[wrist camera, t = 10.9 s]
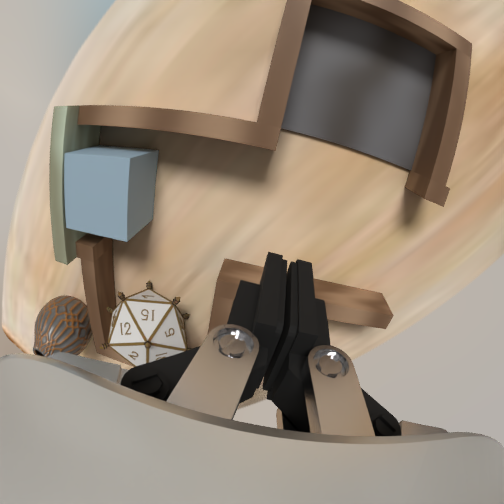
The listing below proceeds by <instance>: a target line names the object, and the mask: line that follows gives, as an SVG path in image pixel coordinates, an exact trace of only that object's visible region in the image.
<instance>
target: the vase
mask: <svg viewBox="0 0 504 504" xmlns="http://www.w3.org/2000/svg"><path fill="white" fill-rule="evenodd" d="M91 335H92V329H91V324H90V319H89V314H88V308H87V307H86V305H85V304H84V303H83V302H82V301H80V300H79V299H77V298H74V297H71V296H59V297H56V298H54V299H52V300H50V301H49V302H48V303H47V304H46V305H45V306H44V307H43V308H42V309H41V311H40V312H39V314H38V316H37V319H36V322H35V342H34V347H33V352H34V354H35V355H39V356H44V357H49V356H50V355H52V354H54V353H58V352H65V353H70V354H74V355H79V354H80V353H81V352H82V351H83V350H84V349H85V347H86V346H87V344H88V342H89V341H90V338H91Z"/></svg>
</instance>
